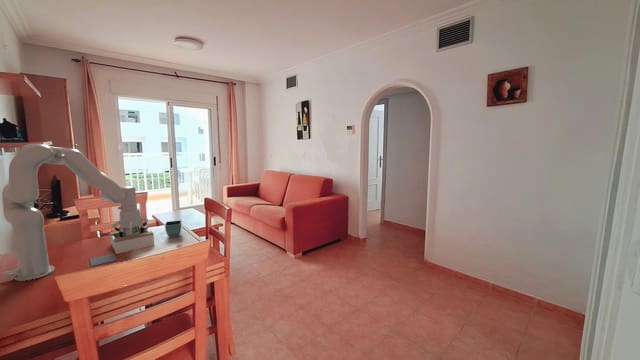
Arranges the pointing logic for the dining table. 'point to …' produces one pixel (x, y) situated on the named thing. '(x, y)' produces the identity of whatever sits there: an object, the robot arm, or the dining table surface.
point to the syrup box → (131, 230)
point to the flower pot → (173, 228)
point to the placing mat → (103, 260)
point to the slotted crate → (132, 241)
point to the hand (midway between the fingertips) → (132, 235)
